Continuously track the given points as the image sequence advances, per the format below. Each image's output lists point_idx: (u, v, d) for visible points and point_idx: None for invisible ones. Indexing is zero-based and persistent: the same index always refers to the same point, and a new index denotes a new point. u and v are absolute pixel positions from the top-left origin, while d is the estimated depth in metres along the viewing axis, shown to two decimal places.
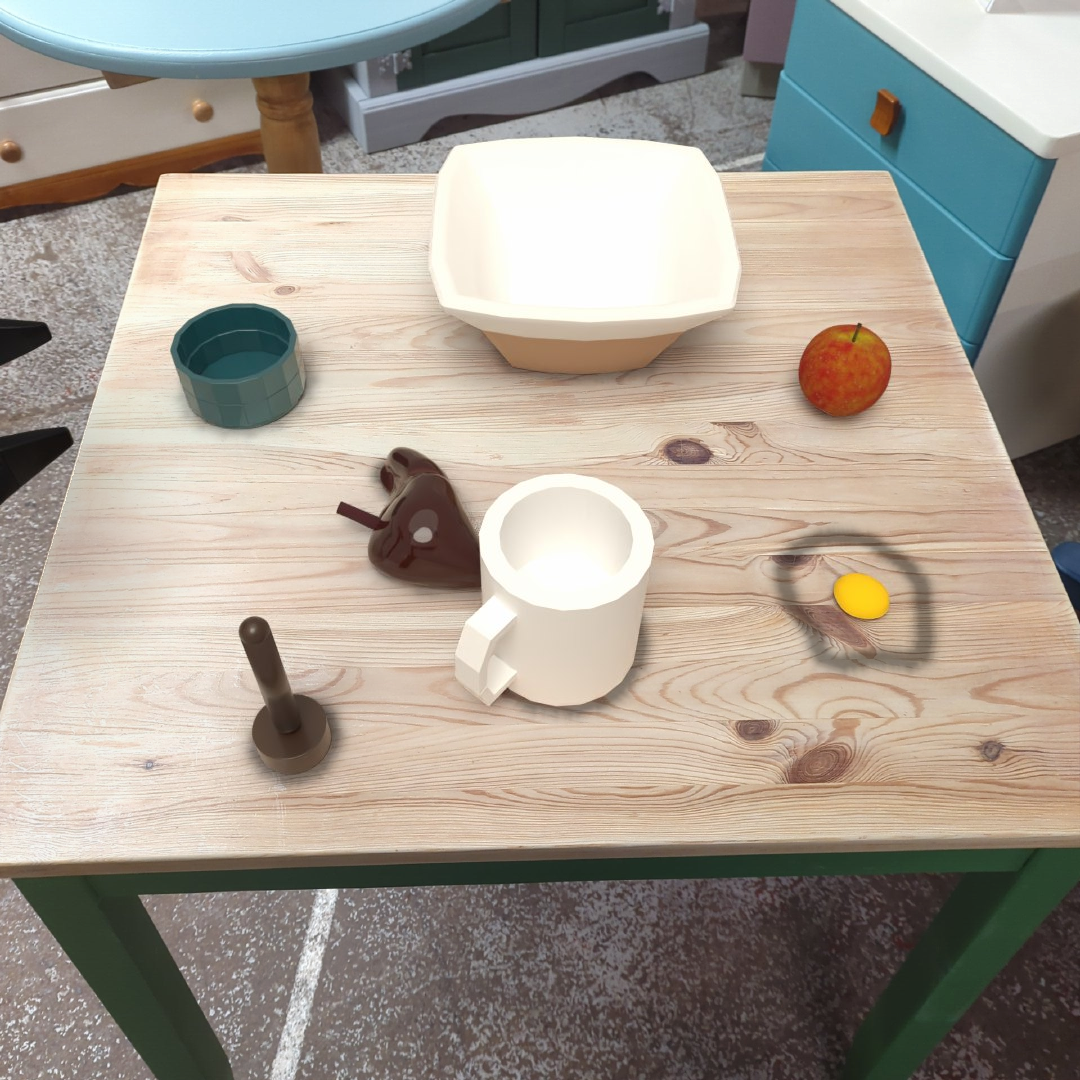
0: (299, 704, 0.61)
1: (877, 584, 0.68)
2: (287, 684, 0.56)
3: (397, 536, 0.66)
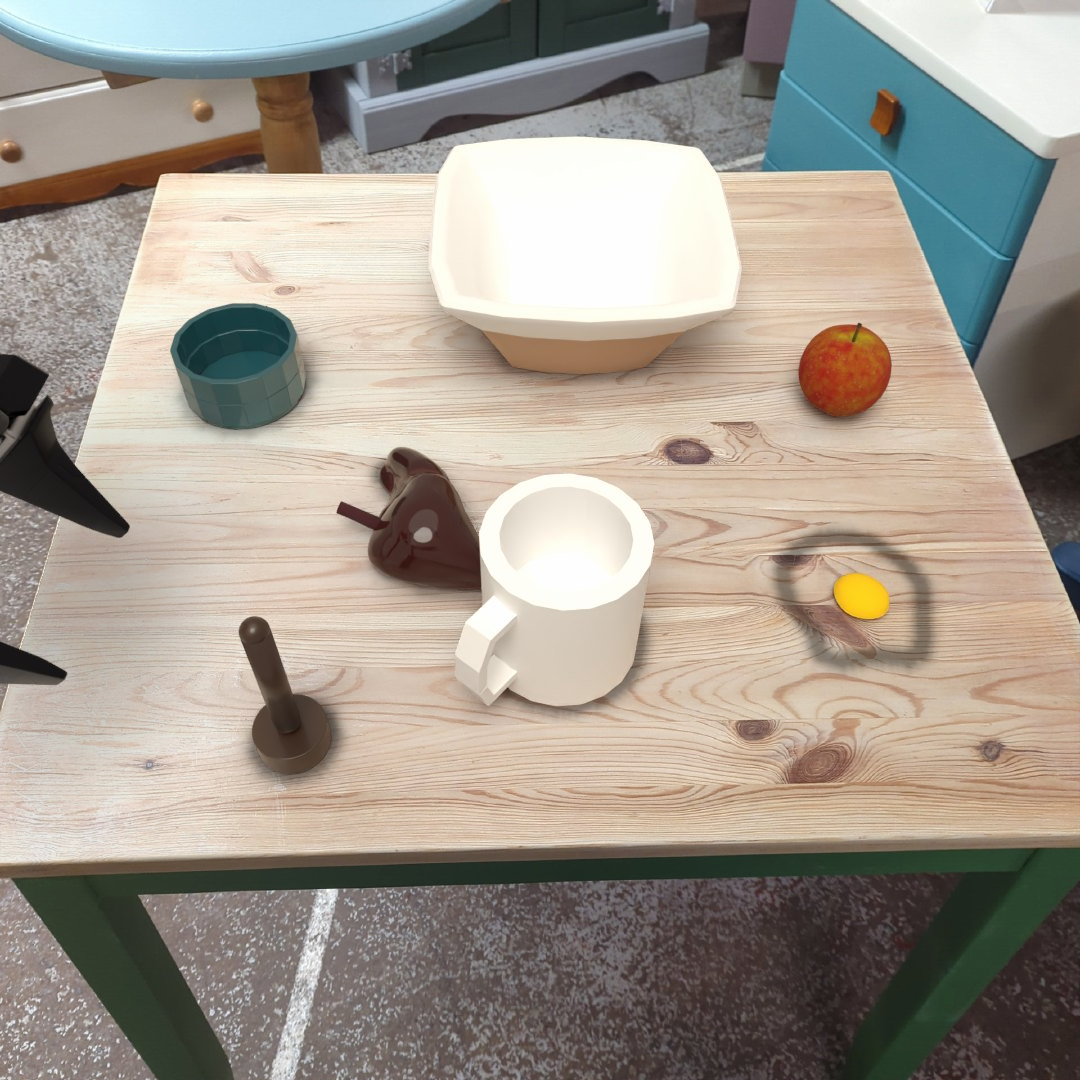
0: (299, 704, 0.61)
1: (877, 584, 0.68)
2: (287, 684, 0.56)
3: (397, 536, 0.66)
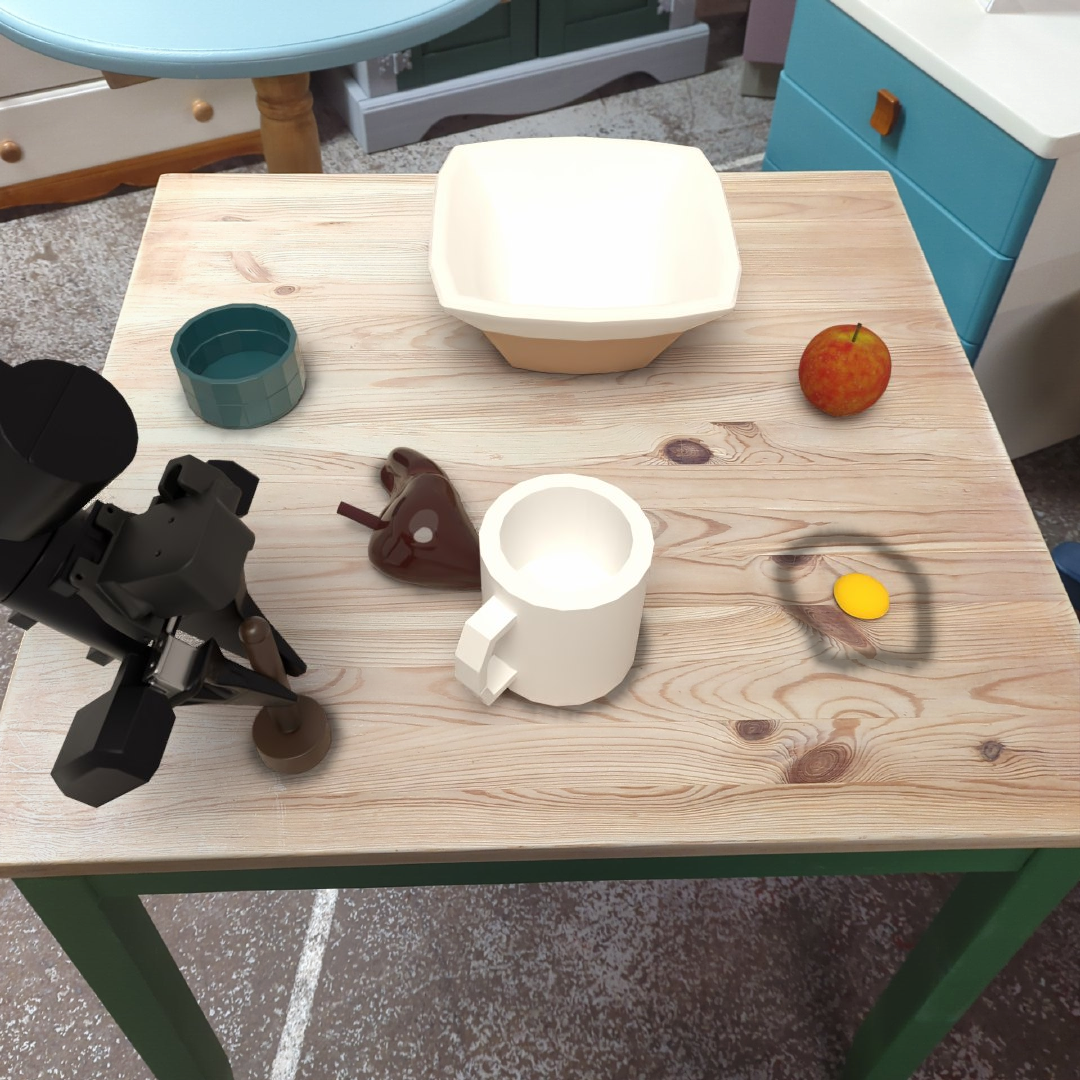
0: (299, 704, 0.61)
1: (877, 584, 0.68)
2: (287, 684, 0.56)
3: (397, 536, 0.66)
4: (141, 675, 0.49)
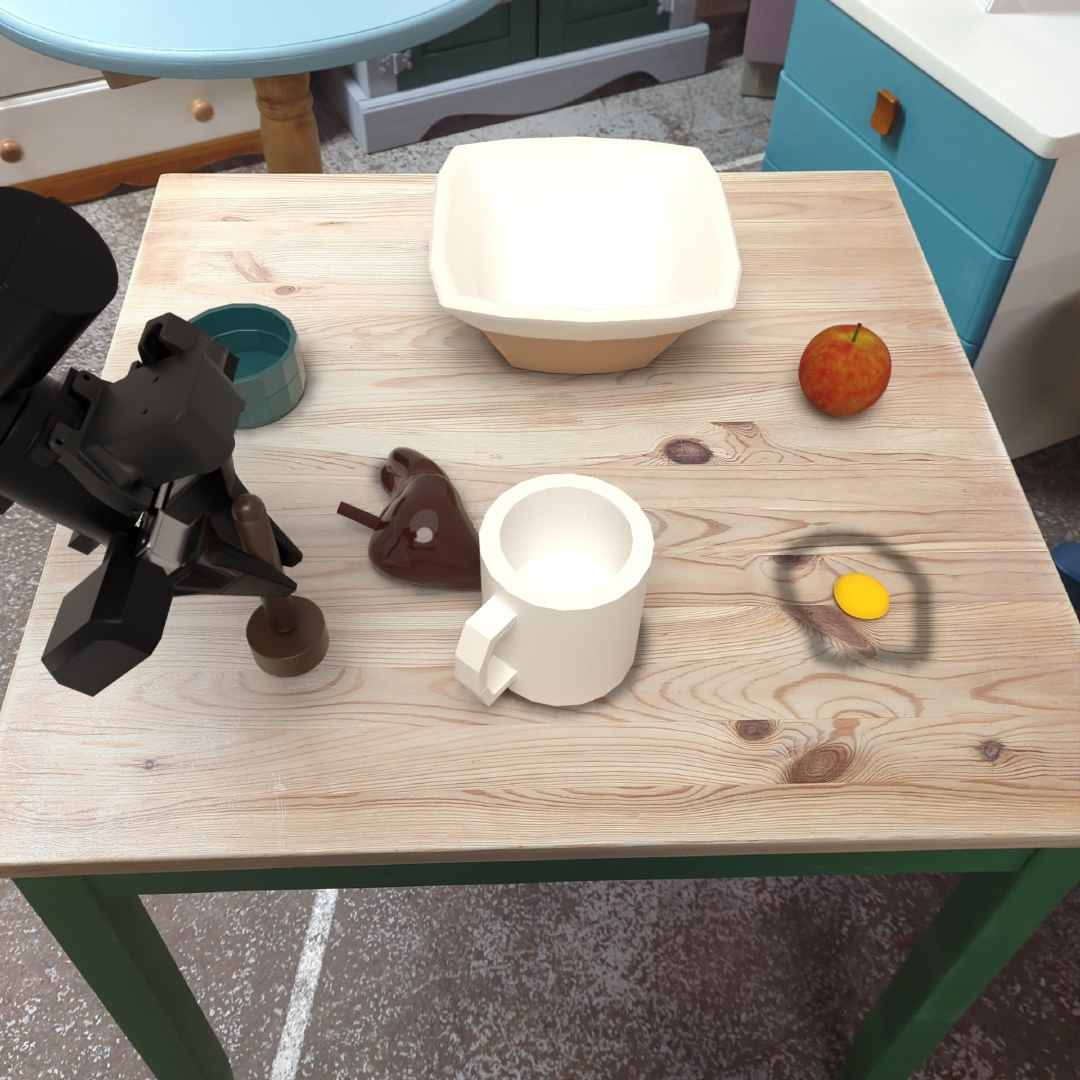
0: (294, 605, 0.58)
1: (877, 584, 0.68)
2: None
3: (397, 536, 0.66)
4: (131, 555, 0.46)
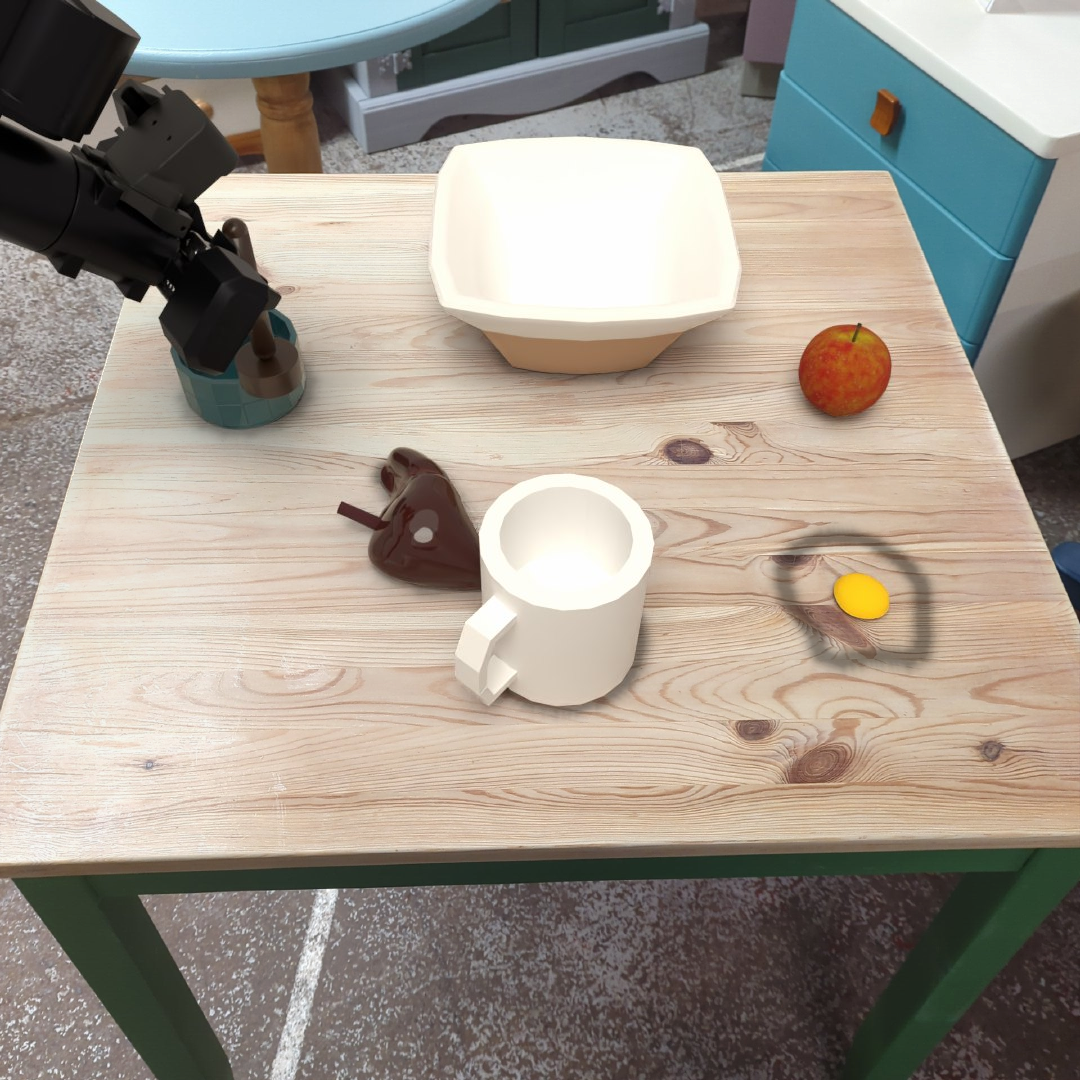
0: None
1: (877, 584, 0.68)
2: None
3: (397, 536, 0.66)
4: None
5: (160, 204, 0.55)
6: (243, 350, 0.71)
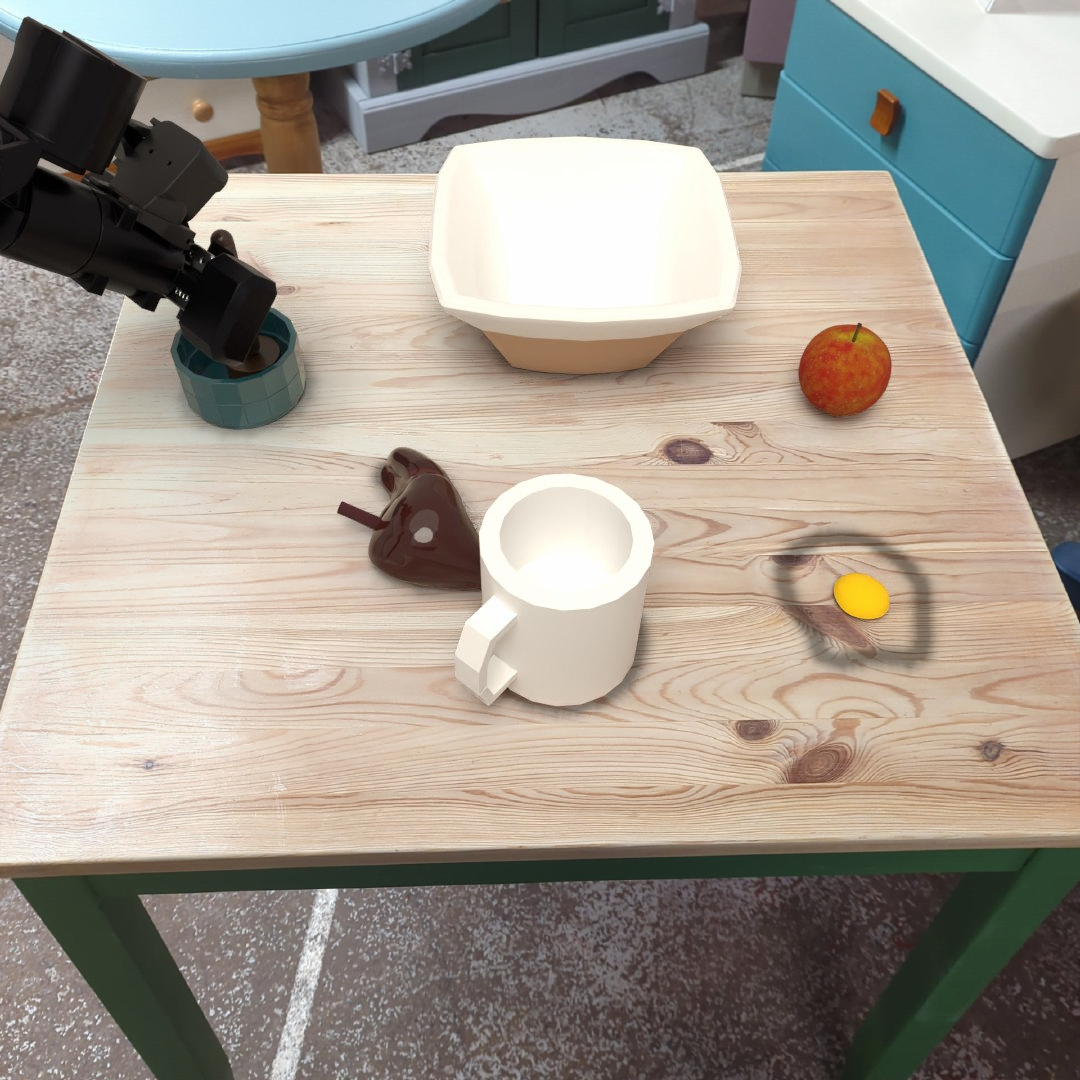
0: None
1: (877, 584, 0.68)
2: None
3: (398, 536, 0.66)
4: (196, 278, 0.66)
5: (169, 222, 0.63)
6: None
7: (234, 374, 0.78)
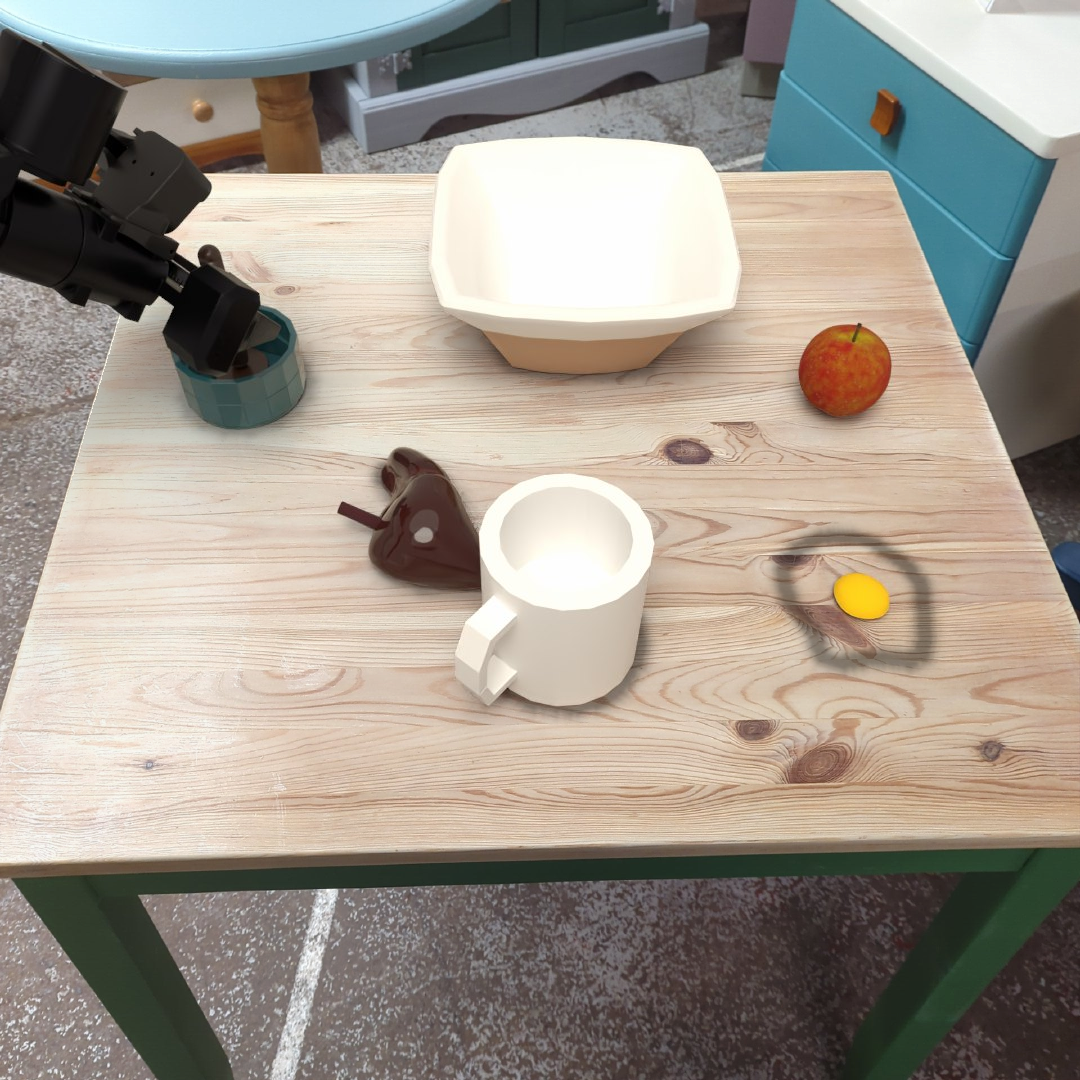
0: None
1: (877, 584, 0.68)
2: None
3: (398, 536, 0.66)
4: None
5: (152, 232, 0.63)
6: None
7: None
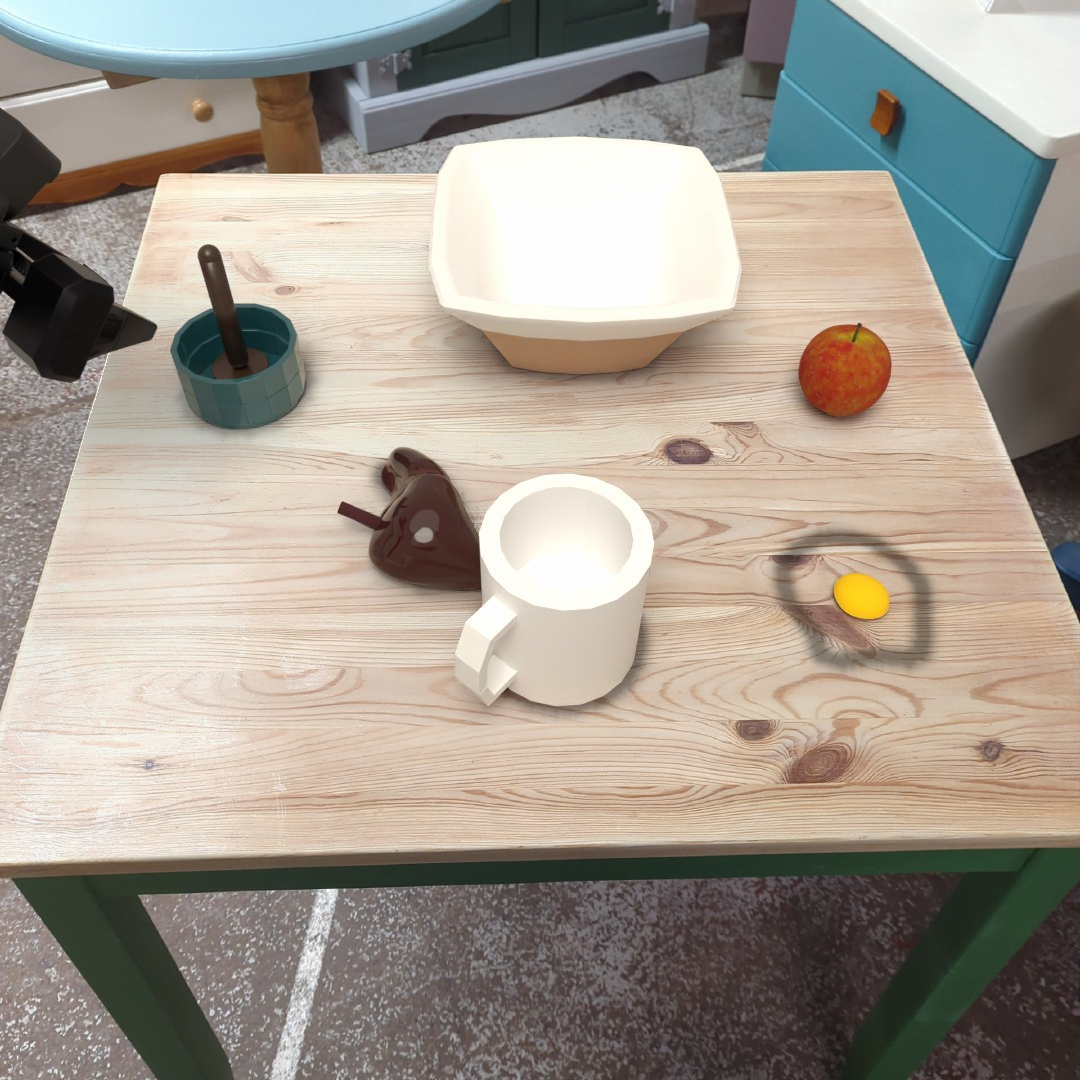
0: None
1: (877, 584, 0.68)
2: None
3: (398, 536, 0.66)
4: None
5: None
6: (217, 362, 0.79)
7: None
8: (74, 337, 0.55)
